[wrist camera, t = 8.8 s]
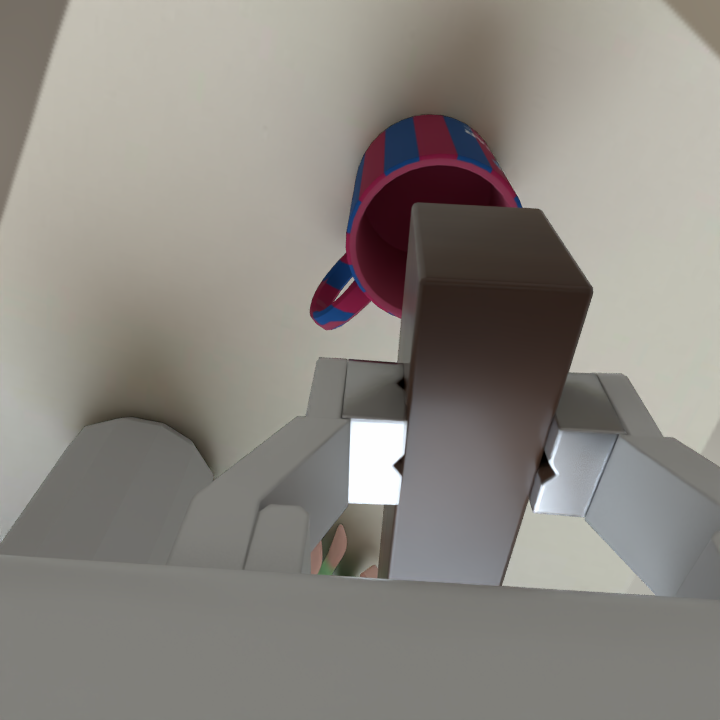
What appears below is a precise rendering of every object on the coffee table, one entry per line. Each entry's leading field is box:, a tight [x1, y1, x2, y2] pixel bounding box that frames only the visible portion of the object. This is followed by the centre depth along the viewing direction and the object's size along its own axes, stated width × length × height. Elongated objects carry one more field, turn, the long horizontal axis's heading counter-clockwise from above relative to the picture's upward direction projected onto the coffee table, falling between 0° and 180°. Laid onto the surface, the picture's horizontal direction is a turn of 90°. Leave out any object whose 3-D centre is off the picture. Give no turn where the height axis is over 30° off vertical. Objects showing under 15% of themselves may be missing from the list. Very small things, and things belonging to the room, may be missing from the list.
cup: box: [310, 114, 522, 330], centre depth 24 cm, size 7×10×7 cm
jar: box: [0, 417, 213, 565], centre depth 30 cm, size 10×10×18 cm
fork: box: [377, 202, 593, 586], centre depth 13 cm, size 19×3×3 cm, turn 178°
